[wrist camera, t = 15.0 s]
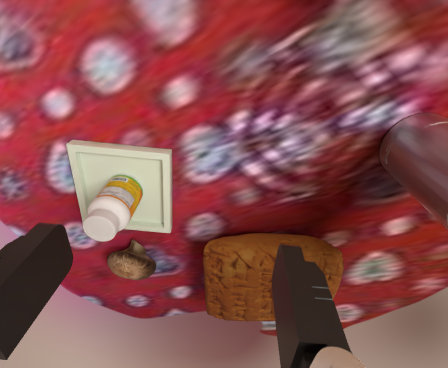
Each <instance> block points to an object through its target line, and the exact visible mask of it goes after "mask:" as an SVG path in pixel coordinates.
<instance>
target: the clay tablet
mask: <svg viewBox="0 0 448 368" xmlns="http://www.w3.org/2000/svg"><path fill="white" fill-rule="evenodd" d="M280 244H281V245H293V246H300V247H301V249H302V252H303V256H304V259H305V261H308V262H315V263H316V264H317V265H318V267H319V268H320V269H321V270H322V272H323V273H324V274H325V277H326V280H327V283H328V286H329V290H330V292H331V295H332V298H334V296H335V294H336V291H337V289H338V287H339V284H340V281H341V277H342V273H343V268H344V265H343V258H342V252H341V251H339V249H338V248H336V247H334V246H332V245H331V244H329V243H327V242H326V241H324V240H321V239H318V238H315V237H311V236H305V235H291V234H272V233H252V234H243V235H238V236H228V237H222V238H218V239H214V240H211V241H209V242H208V243H207V244H206V246H205V248H204V251H203V267H204V280H205V301H206V310H207V313H208V314H209V315H212V316H215V317H216V318H220V319H225V320H233V321H234V320H235V321H275V312H274V304H273V295H272V274H273V269H274V264H275V260H276V255H277V251H278V247H279V245H280ZM332 300H333V299H332Z"/></svg>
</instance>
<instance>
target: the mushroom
mask: <svg viewBox="0 0 448 368" xmlns="http://www.w3.org/2000/svg"><path fill="white" fill-rule="evenodd" d="M107 264H108V266H109V268H110V269H111V271H112V272H113V273H114V274H116V275H117V276H119V277H123V278H127V279H133V280H142V279H145V278H148V277H149V276H151V275H152V274H153V273H154V271H155V269H156V262H155V261H154V260H152V259H150V258H149V257H148V256H147V255H146V249H145V248H144V247H143V246H142V245H140V244H139V243H138V242H136V241H135V240H133V239H132V241H131V245H130V246H129V248H127V249H125V250H123V251H115V252H112V253H110V254H109V255H108V257H107Z"/></svg>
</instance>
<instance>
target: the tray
mask: <svg viewBox="0 0 448 368" xmlns="http://www.w3.org/2000/svg"><path fill="white" fill-rule="evenodd" d="M66 146H67V150H68V155H69V160H70V165H71V169H72V174H73V179H74V184H75V188H76V193H77V198H78V202H79V207H80V212H81V217H82V221H83V222H84V220H85V219H86V218H87V216H88V207H89V205H90V203H91V202H92V201H93V199H94V198H95V197H96V196H97V195H98V193H99V192H100V191H101V190H102V188H103V187H104V186H105V184H106V183H107V182H108V181H109V180H110V178H111V177H113V176H114V175H117V174H128V175H131V176H133V177H135V178H136V179H137V180H138V181H139V182H140V183H141V185H142V187H143V197H142V199H141V201H140V203H139V205H138V206H137V208H136V210H135V212H134V214H133V216H132V218H131V220H130V221H129V223H128V225H127V226H126V227H125V228H124V229H130V230H140V231H151V232H162V233H171V230H172V149H162V148H152V147H142V146H131V145H121V144H111V143H100V142H90V141H80V140H71V141H70V142H68V143H67V144H66Z"/></svg>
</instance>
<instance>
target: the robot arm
mask: <svg viewBox="0 0 448 368" xmlns="http://www.w3.org/2000/svg"><path fill="white" fill-rule="evenodd" d="M379 158H380V162H381V164H382V166H383V167H384V168H385V169H386V170H387V171H388V172H389V173H390V174H391V175H392V176H393V177H394V178H395V179H396V180H397V181H398V182H399V183H400V184H401V185H402V186H403V187H404V188H405V189H406V190H407V191H408V192H409V193H410V194H411V195H412V196H413V197H414V198H415V199H416V200H417V201H418V202H419V203H420V204H422V205H423V206H424V207H425V208H426V209H427V210H428V211H429V212H430V213H431V214H432V215H433V216H434V217H435V218H436V219H437V220H438V221H439V222H440V223H441V224H442V225H443V226H444V227H445V228H446V229H448V119H447V118H445V117H443V116H440V115H438V114H435V113H419V114H415V115H412V116H409V117H407V118H405V119H403V120H402V121H400V122H399V123H397V124H396V125H395V126H394V127H393V128H392V129H390V131H389V132H388V133H387V134H386V136H385V137H384V139H383V141H382V143H381V146H380V150H379ZM72 262H73V254H72V250H71V247H70V243H69V240H68V236H67V233H66V229H65V227H64V226H63V225H59V224H48V223H39V224H37V225H36V226H35V227H33V228H32V229H31V230H30V231H29V232H28V233H27V234H26V235H25V236H21V237H19V238H17V239H16V240H14V241H12V242H10V243H8V244H7V245H6V246H4V247H3V248H2V249H1V250H0V359H2V360H7V359H8V357H9V356H10V355H11V353H12V352H13V350H14V349H15V348H16V346H17V345H18V343H19V342H20V340H21V339H22V338H23V336H24V335H25V333H26V332H27V330H28V329H29V328H30V326H31V325H32V323H33V322H34V321H35V319H36V318H37V316H38V315H39V313H40V312H41V311H42V309H43V308H44V306H45V305H46V303H47V302H48V301H49V299H50V298H51V296H52V295H53V294H54V292H55V291H56V289H57V288H58V286H59V285H60V284H61V282H62V281H63V279H64V278H65V277H66V275H67V274H68V272H69V271H70V269H71V266H72ZM272 295H273V304H274V312H275V321H276V330H277V338H278V347H279V355H280V364H281V368H365V366H364V365H363V364H362V362H360V360H358V358H357V357H356V356H354V355H353V354H352V352H351V350H350V348H349V345H348V343H347V340H346V337H345V334H344V331H343V328H342V325H341V322H340V319H339V316H338V313H337V310H336V307H335V304H334V301H333V300H332V299H333V298H332V295H331V292H330V290H329V286H328V283H327V280H326V277H325V274H324V273H323V272H322V270H321V269H320V268H319V267H318V265H317V264H316V263H315V262H308V261H305V259H304V256H303V252H302V249H301V247H300V246H293V245H281V244H280V245H279V247H278V251H277V255H276V260H275V264H274V269H273V274H272Z"/></svg>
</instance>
